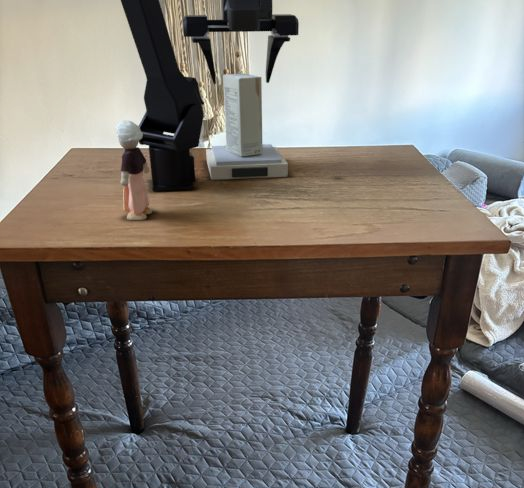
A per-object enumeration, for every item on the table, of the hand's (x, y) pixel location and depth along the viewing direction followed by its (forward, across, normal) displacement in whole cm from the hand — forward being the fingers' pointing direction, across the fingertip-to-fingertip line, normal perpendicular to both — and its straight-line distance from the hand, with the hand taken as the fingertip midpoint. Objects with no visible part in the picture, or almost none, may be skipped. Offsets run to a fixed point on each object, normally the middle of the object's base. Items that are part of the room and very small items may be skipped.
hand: (241, 83), depth 97 cm
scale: (+13, 0, -6) cm, 14 cm away
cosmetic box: (+10, 0, -5) cm, 12 cm away
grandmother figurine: (+13, -18, -28) cm, 35 cm away
